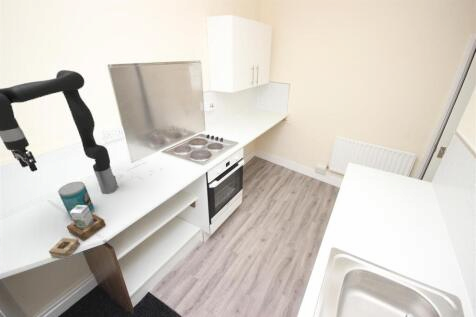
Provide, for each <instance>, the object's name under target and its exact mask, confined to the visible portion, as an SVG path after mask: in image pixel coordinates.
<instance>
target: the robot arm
mask: <svg viewBox="0 0 476 317" xmlns="http://www.w3.org/2000/svg"><path fill="white" fill-rule="evenodd" d="M84 85H85V78H84V77H83V75H81V73H79V72H77V71H74V70H68V69H67V70H65V69H62V70H59V71H58V72H57V73H56V77H55V78H51V79H46V80H37V81H30V82H25V83H24V82H23V83H21V84H16V85H13V86H10V87H4V88H0V139H1V141H2V143H3V144H4V146H5V148H6V150H8V151H10V152H11V153H12V155H13V158H14V159H15V160H17V161H18V162H19V164H20V167H22V168H27V167H29V169H30V172H36V171H38V168H37V165H36V163H37V160H36V158H35V157H34V155H33V153H32V151H31V150H28V149H26V148H27V147H29V146H30V143H29V141H28V139H27V137H26V135H25V132H24V131H23V129H22V128H21V126H20V125H19V123H18V120H17V119H16V117H15V112H14V109H13V105H12V104H16V103H19V104H20V103H26V102H29V101H33V100H36V99H38V98H42V97H45V96H49V95H52V94H57V93H62V94H63V97H64V98H65V100H66V102H67V106H68V109H69V111H70V114H71V116H72V119H73V122H74V125H75V126H76V129H77V132H78V135H79V137H80V140H81V143H82V147H83V152H84V154H85V156H86V157H87V158H89V159H91V160H94V162H95V163H94V164H93V165H92V169H93V171H94V175H95V177H96V179H97V182H98V186H99V188H100V192H101V193H102V194H105V195H106V194H107V195H108V194H112V193H115V192H116V191H117V189H118V188H119V185H118V181H117V178H116V175H114V174H113V171H112V167H111V159H110V158H111V157H110V154H109V152H108V149H107V147H106V146H104V145H101V144H98V143H97V142H96V139H95V137H94V131H95V124H96V123H95V119H94V116H93V114H92V111H91V109H90V108H89V106H87V103H86V102H85V101H84V100H83V99H82V97H81V94H80V92H79V90H80V89H82V88H83V87H84Z"/></svg>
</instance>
